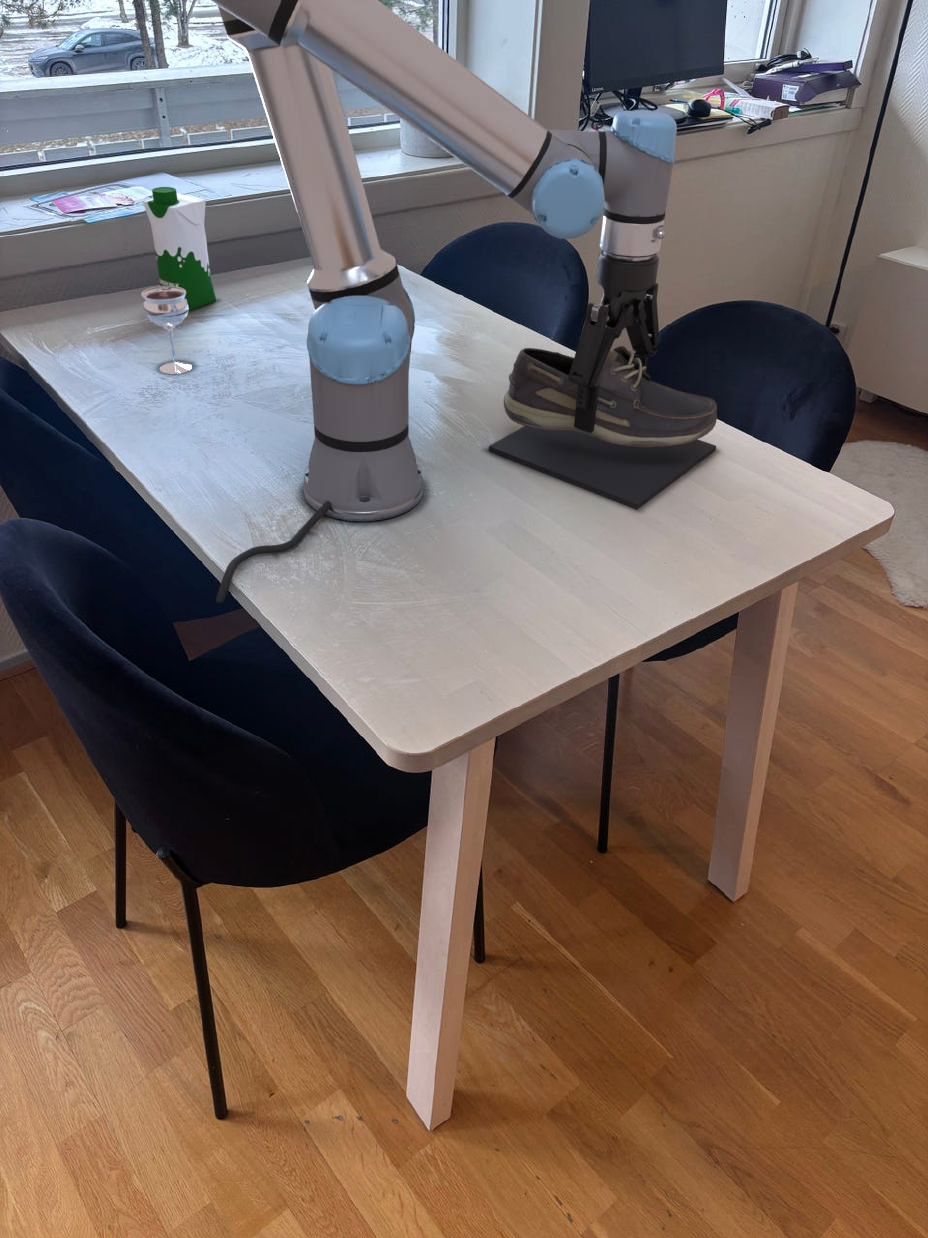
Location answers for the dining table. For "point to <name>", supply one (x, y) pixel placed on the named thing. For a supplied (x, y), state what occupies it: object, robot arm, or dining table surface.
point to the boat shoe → (606, 401)
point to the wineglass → (167, 317)
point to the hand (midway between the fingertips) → (608, 413)
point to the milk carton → (181, 244)
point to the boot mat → (602, 462)
